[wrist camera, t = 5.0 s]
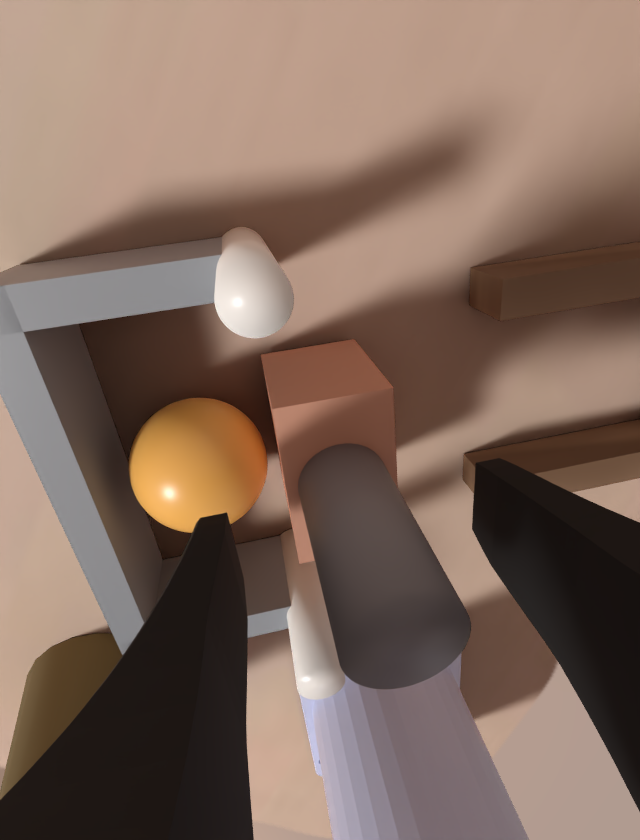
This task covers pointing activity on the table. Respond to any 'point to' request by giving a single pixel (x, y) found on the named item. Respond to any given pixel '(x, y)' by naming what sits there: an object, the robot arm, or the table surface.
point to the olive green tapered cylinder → (57, 697)
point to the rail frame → (551, 292)
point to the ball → (197, 463)
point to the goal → (99, 442)
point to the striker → (360, 517)
